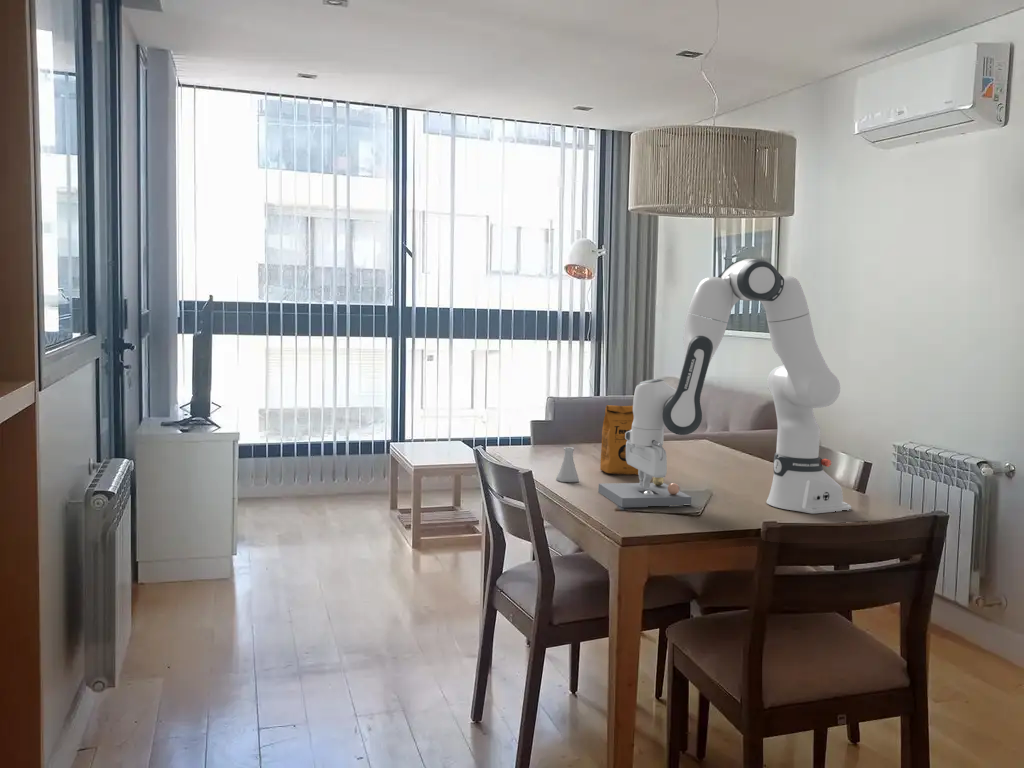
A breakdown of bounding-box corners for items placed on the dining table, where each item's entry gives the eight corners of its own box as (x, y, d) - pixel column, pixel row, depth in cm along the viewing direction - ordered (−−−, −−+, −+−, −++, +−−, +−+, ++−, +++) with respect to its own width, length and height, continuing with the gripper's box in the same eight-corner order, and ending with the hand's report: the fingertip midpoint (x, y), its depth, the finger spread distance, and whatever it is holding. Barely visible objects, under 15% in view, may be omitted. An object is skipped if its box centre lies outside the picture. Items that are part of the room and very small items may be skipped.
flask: (559, 483, 247) (561, 450, 246) (552, 478, 254) (553, 446, 253) (582, 483, 249) (584, 450, 248) (574, 478, 256) (576, 446, 255)
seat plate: (662, 491, 242) (663, 482, 241) (690, 506, 224) (691, 496, 224) (598, 492, 237) (598, 483, 236) (621, 507, 219) (622, 498, 219)
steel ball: (651, 502, 228) (650, 491, 229) (656, 501, 225) (655, 489, 226) (641, 502, 227) (640, 491, 228) (646, 501, 225) (645, 489, 225)
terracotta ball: (675, 493, 228) (676, 481, 228) (681, 495, 225) (681, 484, 225) (665, 493, 227) (665, 481, 227) (670, 496, 224) (670, 484, 224)
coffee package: (643, 476, 262) (647, 407, 260) (604, 476, 260) (608, 406, 258) (634, 470, 272) (638, 403, 270) (597, 469, 270) (601, 402, 268)
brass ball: (660, 484, 239) (661, 473, 238) (665, 487, 236) (666, 475, 235) (650, 484, 238) (651, 473, 238) (655, 487, 235) (655, 476, 234)
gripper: (674, 444, 219) (671, 495, 221) (643, 432, 239) (640, 479, 240) (652, 444, 218) (649, 495, 219) (622, 432, 237) (620, 479, 239)
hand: (644, 487), depth 230 cm, fingers closed
